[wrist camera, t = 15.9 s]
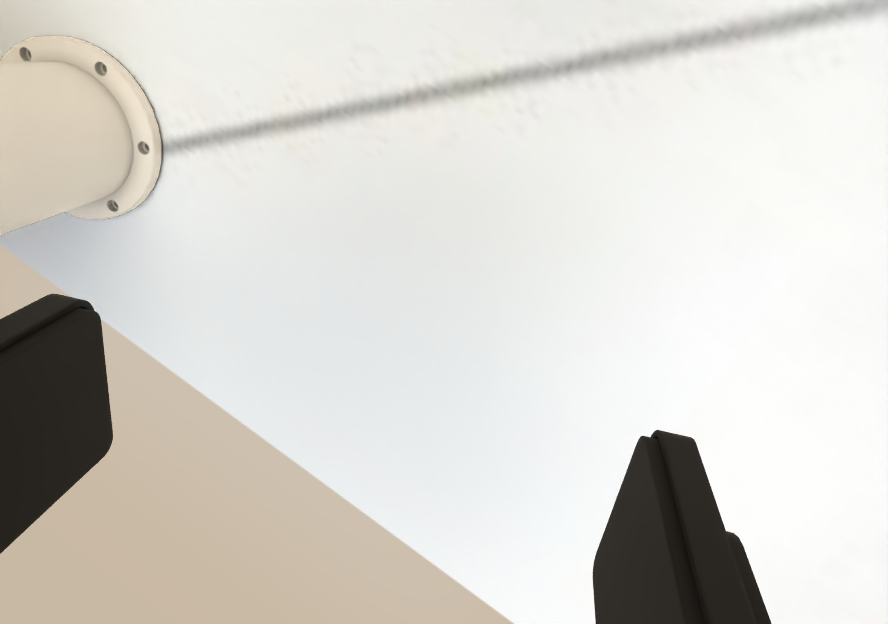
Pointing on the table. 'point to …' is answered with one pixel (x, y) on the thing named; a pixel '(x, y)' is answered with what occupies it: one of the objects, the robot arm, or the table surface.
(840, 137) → the table surface
